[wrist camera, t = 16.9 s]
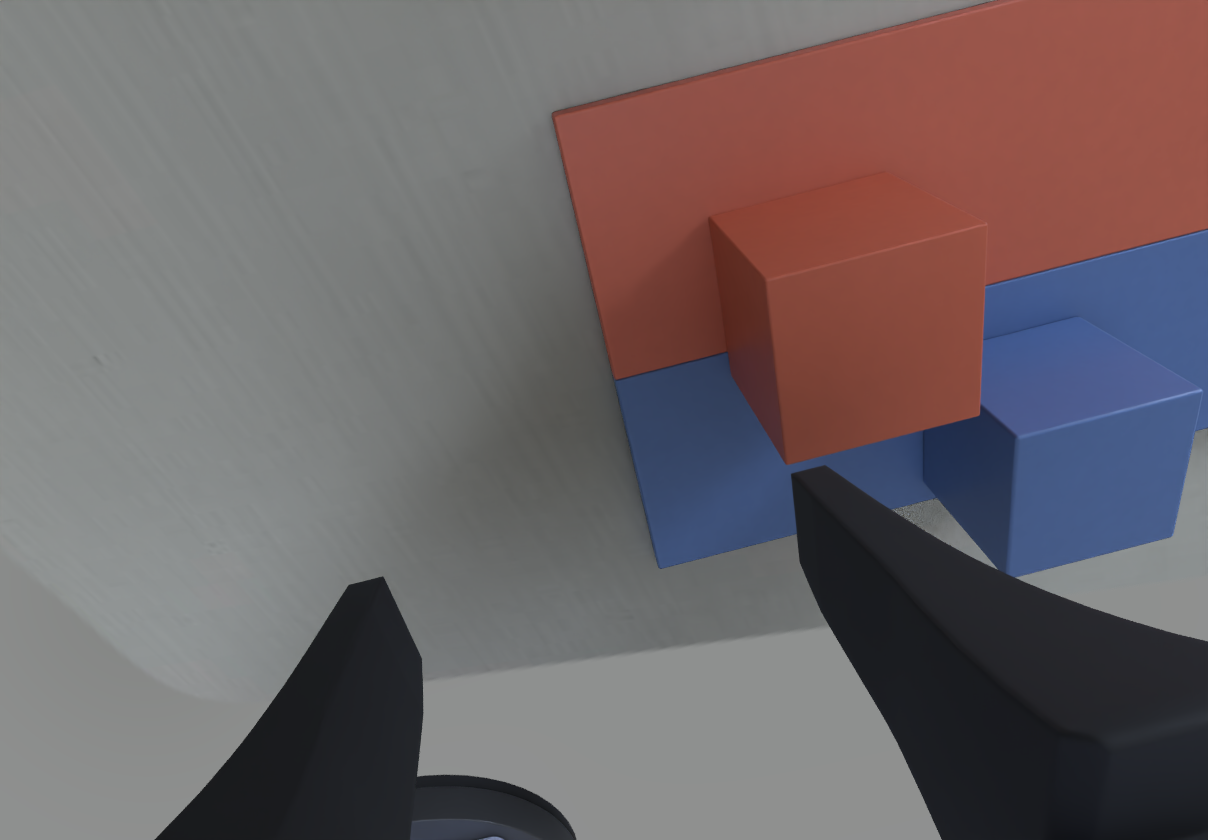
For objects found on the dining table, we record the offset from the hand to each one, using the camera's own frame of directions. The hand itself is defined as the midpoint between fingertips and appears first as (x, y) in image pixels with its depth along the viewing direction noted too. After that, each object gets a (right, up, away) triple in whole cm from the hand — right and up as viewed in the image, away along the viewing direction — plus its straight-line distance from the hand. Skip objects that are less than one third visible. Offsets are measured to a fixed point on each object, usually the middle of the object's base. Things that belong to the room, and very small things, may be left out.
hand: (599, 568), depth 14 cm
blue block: (+12, +3, +10) cm, 16 cm away
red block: (+5, +6, +7) cm, 11 cm away
